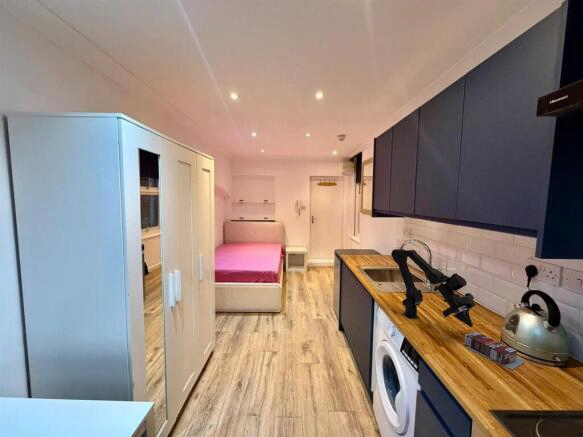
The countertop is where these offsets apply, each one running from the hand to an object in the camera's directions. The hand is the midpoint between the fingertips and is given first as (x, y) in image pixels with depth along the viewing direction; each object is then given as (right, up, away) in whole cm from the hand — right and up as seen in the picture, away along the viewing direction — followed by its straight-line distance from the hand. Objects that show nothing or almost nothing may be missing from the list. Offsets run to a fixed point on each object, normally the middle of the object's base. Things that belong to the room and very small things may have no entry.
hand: (471, 326), depth 117 cm
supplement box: (0, -5, 0) cm, 5 cm away
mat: (+4, -9, -8) cm, 13 cm away
